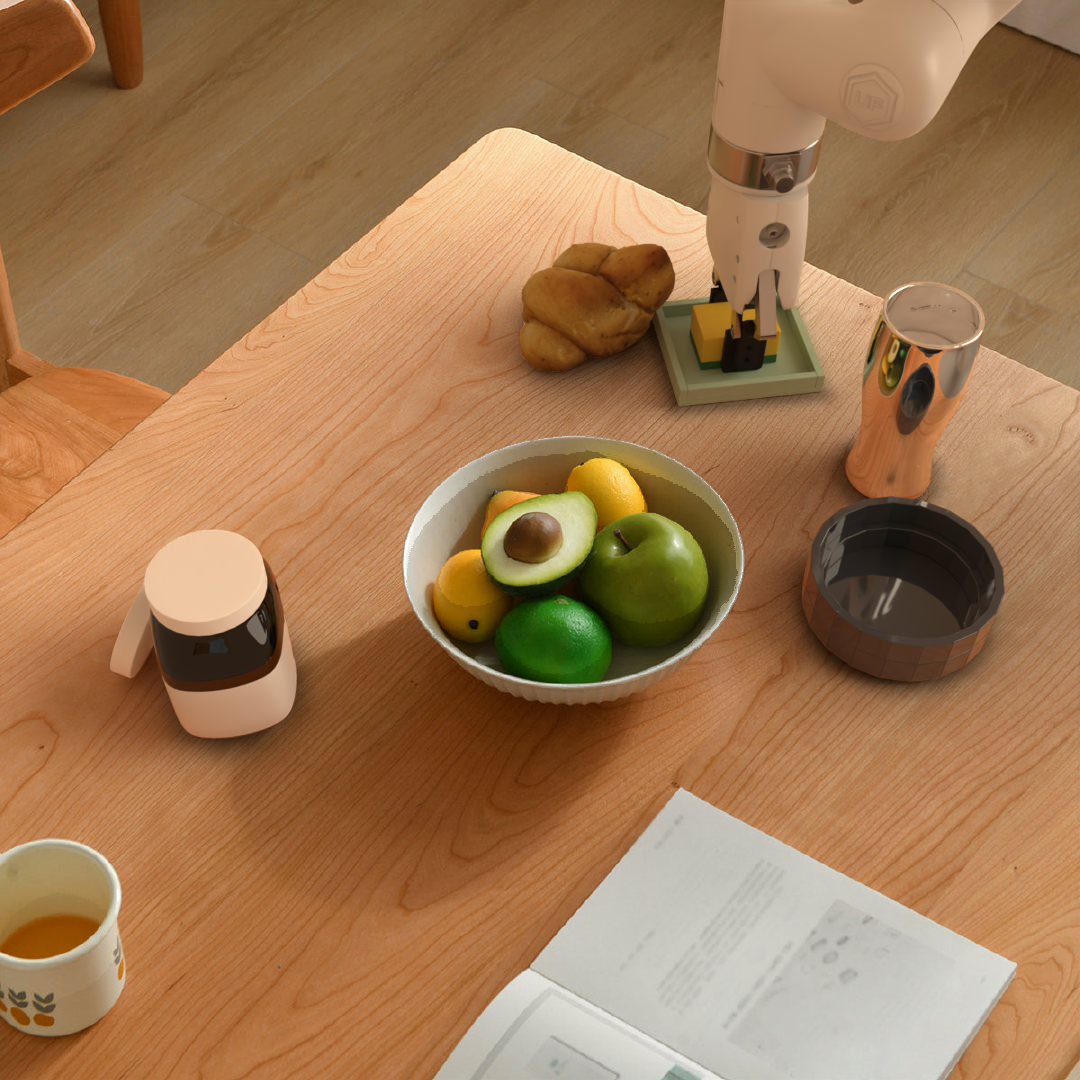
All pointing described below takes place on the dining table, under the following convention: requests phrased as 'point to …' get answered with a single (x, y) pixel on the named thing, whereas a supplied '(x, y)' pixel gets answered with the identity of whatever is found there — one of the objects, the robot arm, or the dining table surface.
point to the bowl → (901, 588)
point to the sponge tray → (783, 377)
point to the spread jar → (213, 635)
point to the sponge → (719, 333)
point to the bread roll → (592, 303)
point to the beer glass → (912, 385)
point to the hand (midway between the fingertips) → (733, 346)
